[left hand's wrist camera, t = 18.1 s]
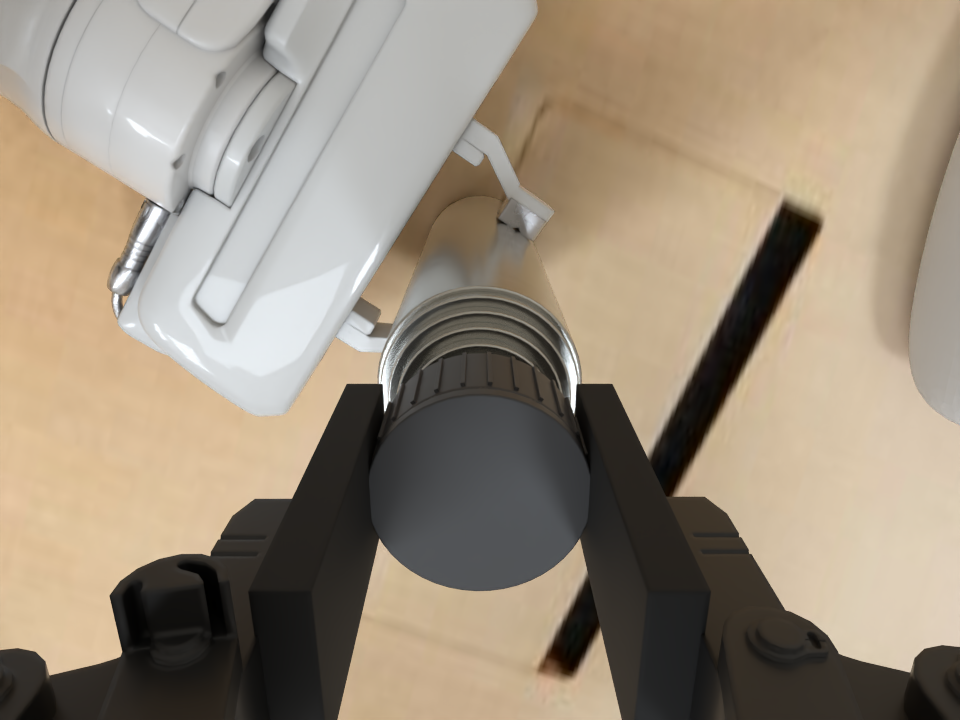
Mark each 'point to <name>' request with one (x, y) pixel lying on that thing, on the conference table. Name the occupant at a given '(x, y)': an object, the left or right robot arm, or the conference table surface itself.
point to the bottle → (478, 302)
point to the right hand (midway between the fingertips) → (497, 290)
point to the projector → (939, 302)
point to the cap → (479, 474)
